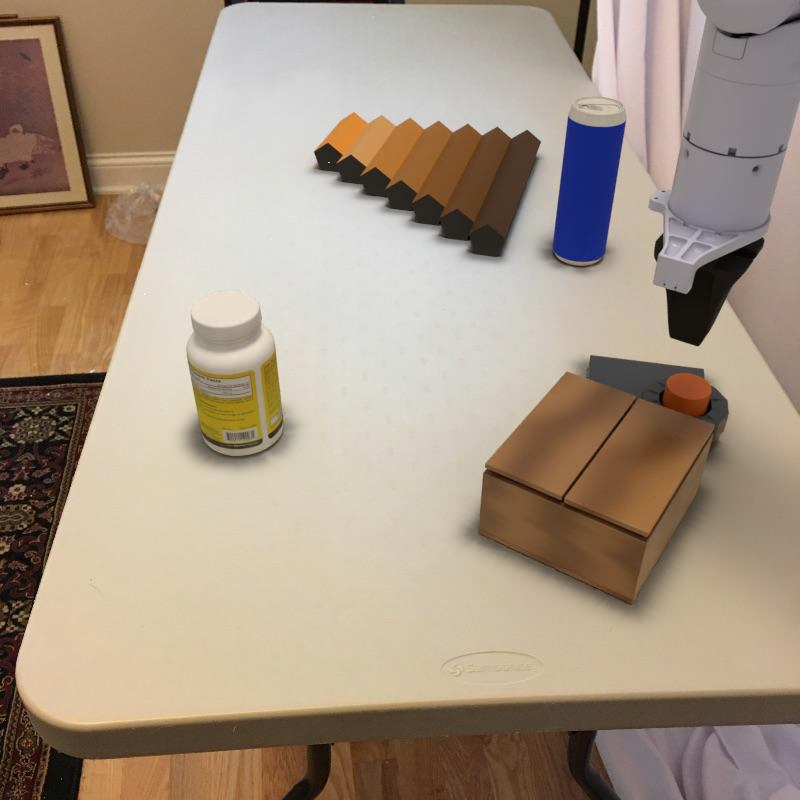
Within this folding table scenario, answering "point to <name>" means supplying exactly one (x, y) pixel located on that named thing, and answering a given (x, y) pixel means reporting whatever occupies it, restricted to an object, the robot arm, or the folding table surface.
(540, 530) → the carton
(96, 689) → the folding table surface
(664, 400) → the button
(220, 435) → the pill bottle
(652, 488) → the flap
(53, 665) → the folding table surface
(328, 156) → the pan flute
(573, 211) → the beverage can
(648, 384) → the control box
